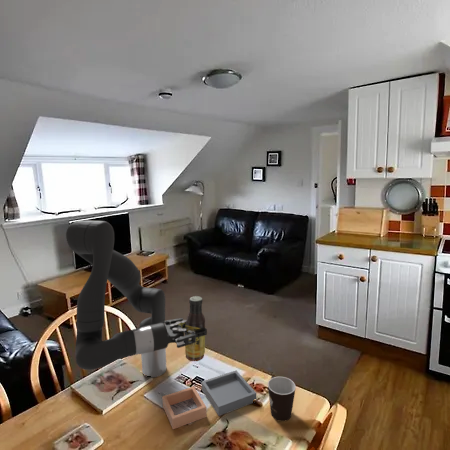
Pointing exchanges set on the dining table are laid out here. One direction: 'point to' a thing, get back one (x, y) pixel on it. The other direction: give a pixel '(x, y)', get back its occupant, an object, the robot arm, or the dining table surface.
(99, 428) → the dining table surface
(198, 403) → the holder box
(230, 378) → the tray
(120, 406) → the dining table surface
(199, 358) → the sauce bottle
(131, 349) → the robot arm
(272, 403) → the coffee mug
